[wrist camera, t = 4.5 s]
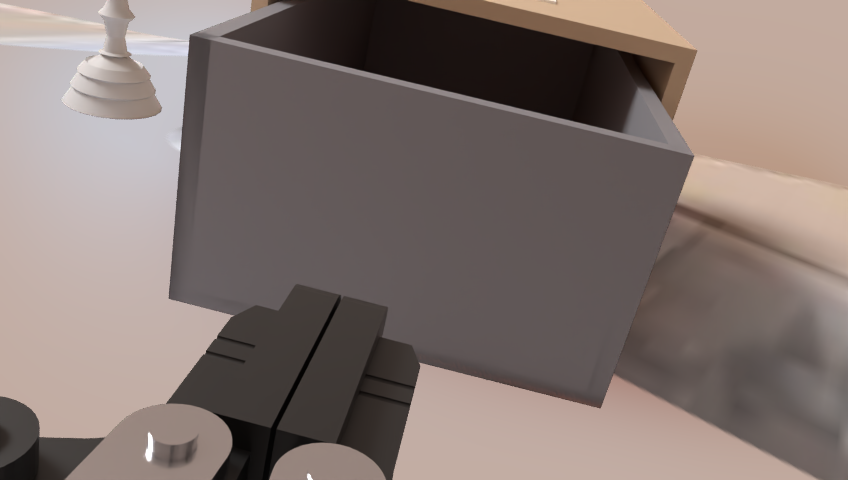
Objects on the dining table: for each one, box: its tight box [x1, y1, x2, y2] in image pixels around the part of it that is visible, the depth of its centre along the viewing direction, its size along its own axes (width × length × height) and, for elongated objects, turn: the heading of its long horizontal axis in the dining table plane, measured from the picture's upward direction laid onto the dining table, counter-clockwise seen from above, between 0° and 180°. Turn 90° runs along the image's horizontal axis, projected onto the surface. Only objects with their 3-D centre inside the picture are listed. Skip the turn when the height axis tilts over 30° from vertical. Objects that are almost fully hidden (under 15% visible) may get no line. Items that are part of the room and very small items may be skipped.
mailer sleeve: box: [251, 0, 697, 121], centre depth 38 cm, size 18×16×11 cm
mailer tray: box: [169, 0, 694, 408], centre depth 35 cm, size 26×14×8 cm, turn 172°
